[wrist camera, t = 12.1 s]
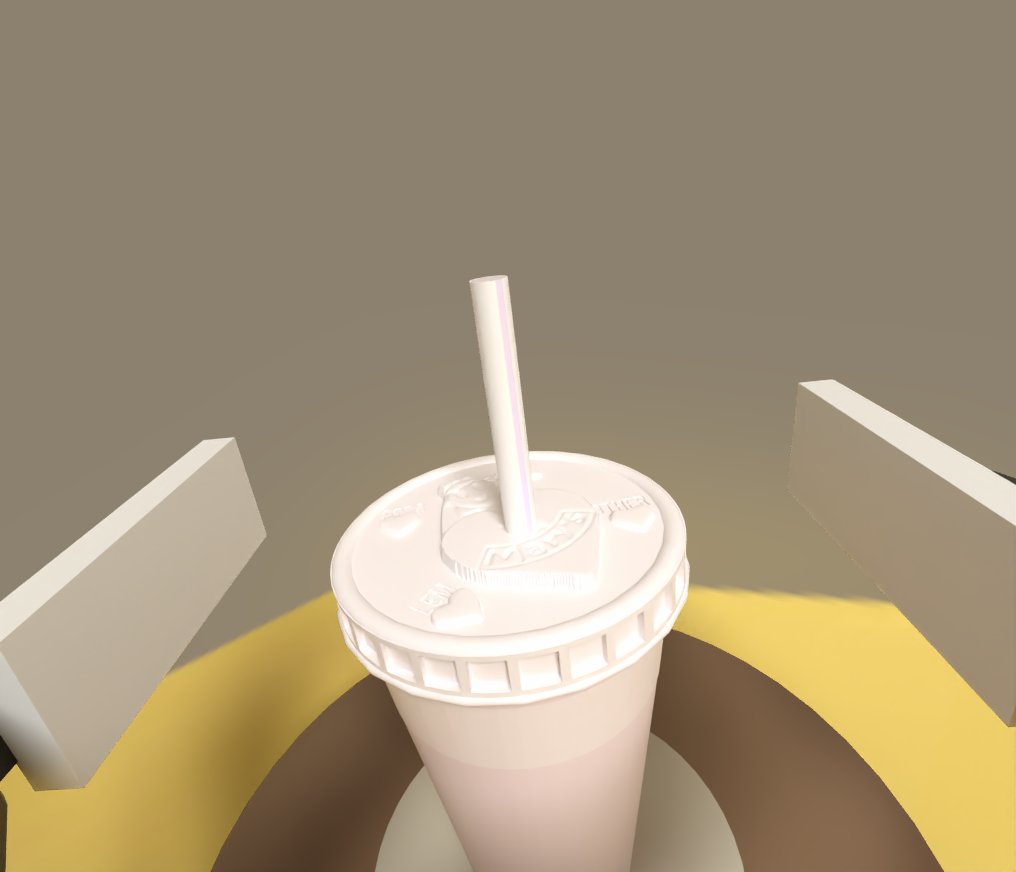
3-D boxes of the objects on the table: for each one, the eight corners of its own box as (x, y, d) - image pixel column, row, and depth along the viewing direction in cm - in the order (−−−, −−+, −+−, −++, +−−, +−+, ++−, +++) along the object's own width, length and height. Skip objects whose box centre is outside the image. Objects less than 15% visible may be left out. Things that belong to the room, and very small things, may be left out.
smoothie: (521, 1132, 10) (320, 362, 4) (385, 830, 15) (214, 304, 9) (749, 882, 13) (795, 243, 7) (571, 703, 18) (521, 247, 12)
